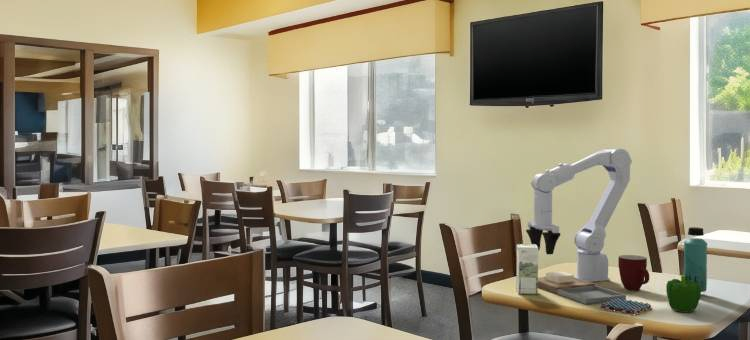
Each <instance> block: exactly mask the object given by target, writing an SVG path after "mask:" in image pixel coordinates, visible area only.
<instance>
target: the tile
mask: <svg viewBox="0 0 750 340" xmlns="http://www.w3.org/2000/svg"><path fill="white" fill-rule="evenodd" d="M574 276H575V274H571V273H568V272H565V271H552V272H546V273H545V277H546V279H547V280H550V281H553V282H556V283H563V282H573V281H574Z"/></svg>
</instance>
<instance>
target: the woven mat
mask: <svg viewBox="0 0 750 340" xmlns="http://www.w3.org/2000/svg"><path fill="white" fill-rule="evenodd" d="M599 309H600V310H603V309H604V311H610V312H613V311H614V310H615V311H614V313H618V312H620V313H619V314H623V313H625V314H624V315H628V314H629V316H633V315H634V314H636V315H641V314H642V313H645V312H647V311H652V309H653V308H652V305H651V304H650V303H648V302H645V303H644V302H642V301H640V302H638V301H637V300H634V301H633V300H632V299H629V300H628V299H627V298H626V299H621V298H618V299H615V300H612V301H608V302H604V303H600V308H599Z"/></svg>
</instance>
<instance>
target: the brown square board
mask: <svg viewBox="0 0 750 340" xmlns="http://www.w3.org/2000/svg"><path fill="white" fill-rule="evenodd" d="M595 285H596V283H594V282H588V281H585V280H582V279H578V278H575V277H574V281H573V282H563V283H556V282H553V281H550V280H547V279H546V276H542V277H539V276H538V289H541V290H543V291H546V292H549V293H552V294H555V295H557V289H567V288H576V287H586V286H595Z"/></svg>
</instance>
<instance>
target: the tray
mask: <svg viewBox="0 0 750 340" xmlns="http://www.w3.org/2000/svg"><path fill="white" fill-rule="evenodd" d="M556 295H558V296H560V297H563V298H565V299H566V298H567V299H569V300H572V301H574V302H577V303H580V304H583V305H593V304H594V305H595V304H602V303H605V302H608V301H612V300H615V299H618V298H621V299H626V300H627V295H626V294H625V293H622V292H619V291H616V290H612V289H608V288H605V287H603V286H598V285H596V284H595V286H586V287H576V288H567V289H557V294H556Z"/></svg>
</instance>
